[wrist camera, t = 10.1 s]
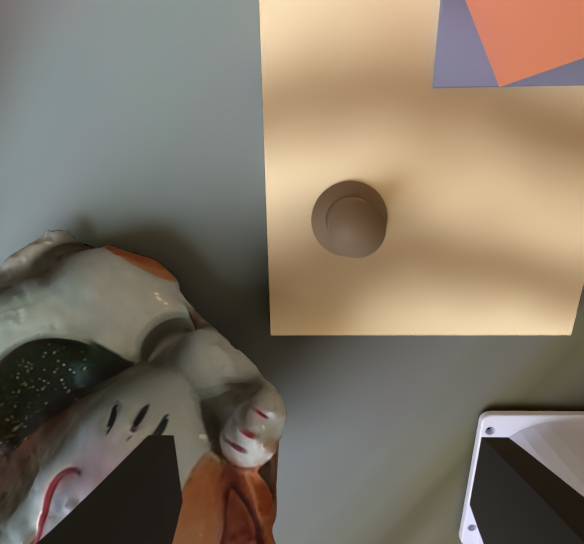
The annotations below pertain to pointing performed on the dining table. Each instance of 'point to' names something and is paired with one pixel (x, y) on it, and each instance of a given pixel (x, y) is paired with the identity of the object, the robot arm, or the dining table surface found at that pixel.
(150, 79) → the dining table surface
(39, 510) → the lucky cat figurine
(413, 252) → the board
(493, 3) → the strapped orange box
